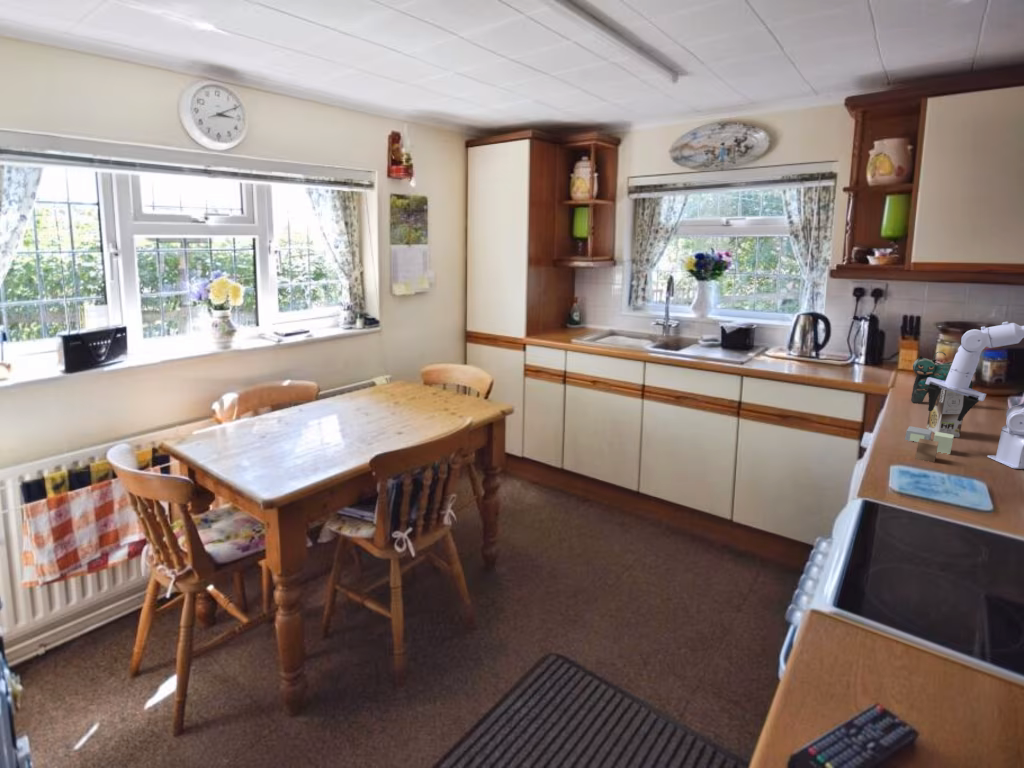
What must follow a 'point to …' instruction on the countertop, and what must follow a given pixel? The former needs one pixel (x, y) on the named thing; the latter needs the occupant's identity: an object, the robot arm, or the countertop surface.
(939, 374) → the ceramic cat
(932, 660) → the countertop surface
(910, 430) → the base block
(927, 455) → the walnut block
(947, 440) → the sage block
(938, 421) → the coffee box
